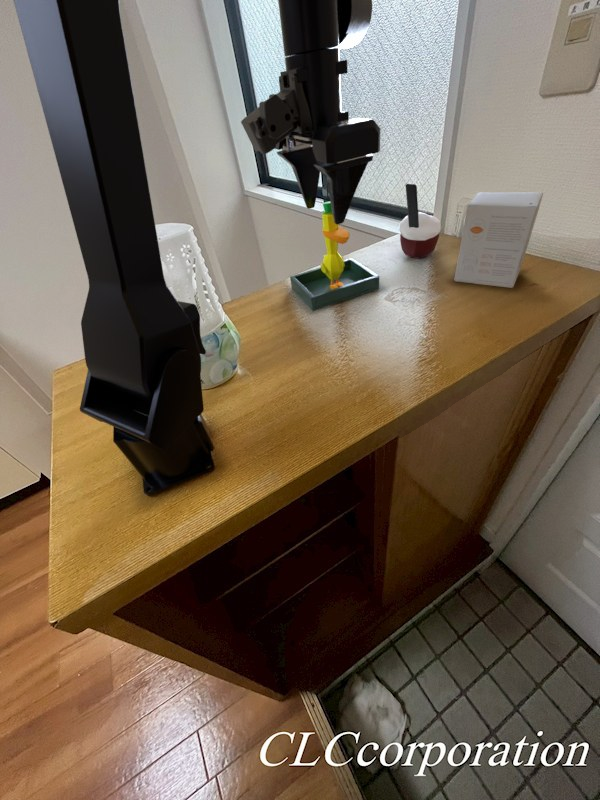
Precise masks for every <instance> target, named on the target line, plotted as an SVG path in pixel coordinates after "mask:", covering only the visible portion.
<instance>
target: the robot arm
mask: <svg viewBox="0 0 600 800" xmlns="http://www.w3.org/2000/svg"><path fill="white" fill-rule="evenodd" d="M277 3H278V11H279V21H280V27H281V37H282V47H283V55H284V65H285V71H280V75H279V76H278V83H279V84H278V85H279V92H277V93H272V94H269V95H268V98H267V99H266V100H264V101H260V102H259V103H258V105H259V106H258V107H257V108H255V109H254V110H253V111H252V112H250V113H249V114H247V115H246V116H245V117H244V118H243V119H242V120H241V121H240V123H241V125H242V127H243V130H244V131H245V133H246V135H247V138H248V139H249V141H250V143H251V145H252V148H253V150H254V151H255V153H259V152H260V154H262V155H267V154H269V153H270V152H272V151H273V150H279V151H276V154H277V155H278V156H279V157H280V158H281V159H283V160H284V161H285V162H286V163H287V164H289V165H290V166H291V169H292V171H293V174H294V176H295V179H296V182H297V184H298V187H299V190H300V193H301V196H302V198H303V201H304V205H305V207H306V208H307V209H308V210H310V209H313V208H315V206H316V200H317V195H318V189H319V182H320V174H322V175H323V177H325V179H326V183H327V184H326V185H327V190H328V195H329V201H330V202H331V208H332V213H333V218H334V222H335V224H338V225H340V224H343V223H344V222H345V220H346V217H347V215H348V212H349V209H350V207H351V204H352V201H353V199H354V196H355V194H356V191H357V189H358V186H359V184H360V182H361V180H362V177H363V175H364V173H365V171H366V168H367V166H368V164H369V163H371V162H373V159H374V154H377V153H379V152H381V133H382V131H381V130H382V129H381V127H380V126H379V125H378V124H377V122H376V121H375V119H373V118H361V117H355V118H351V119H349V118H350V117H349V114H350V113H349V110H348V111H347V110H342V89H341V88H342V87H341V75H345V74H348V59H344V60H340V50H342V49H350V48H353V47H354V46H356V45H358V44H359V43H360V42H361V41H362V40H363V38H364V37H365V35H366V34H367V32H368V30H369V27H370V24H371V22H372V21H371V20H372V14H373V0H277ZM13 5H14V8H15V12H16V15H17V19H18V23H19V26H20V30H21V33H22V37H23V40H24V44H25V47H26V52H27V57H28V59H29V63H30V67H31V71H32V75H33V78H34V82H35V85H36V89H37V92H38V96H39V99H40V105H41V108H42V112H43V115H44V119H45V123H46V126H47V130H48V133H49V134H48V135H49V137H50V142H51V144H52V150H53V152H54V156H55V160H56V163H57V167H58V171H59V174H60V178H61V182H62V186H63V189H64V194H65V198H66V200H67V204H68V208H69V211H70V216H71V219H72V223H73V227H74V230H75V234H76V238H77V241H78V245H79V249H80V253H81V255H82V256H81V257H82V260H83V264H84V267H85V272H86V275H87V280H88V292H87V295H86V300H85V304H84V308H83V312H82V316H81V321H80V326H81V327H80V328H81V334H82V344H83V354H84V361H85V366H86V368H87V372H86V377H85V381H84V388H83V391H82V395H81V400H80V406H79V411H80V412H81V413H82V414H84V415H86V416H88V417H90V418H92V419H94V420H96V421H98V422H100V423H105V424H106V425H109V426H111V427H113V429H112V434H113V435H112V441H113V443H114V444H115V446H116V447H117V448H118V449H119V450H120V452H121V453H122V454H123V456H124V457H125V458H126V459H127V460H128V462H129V463H130V464H131V465H132V466H133V468H134V469H135V470H136V471H137V473H138V474H139V475H140V476H141V478H142V487H143V494H144V495H145V496H146V497H152V496H155V495H158V494H161V493H163V492H165V491H167V490H170V489H173V488H175V487H178V486H180V485H182V484H183V485H184V484H185V483H188V482H190V481H193V480H195V479H198V478H200V477H202V476H205V475H208V474H210V473H212V472H213V471H215V469H216V464H215V460H214V456H213V453H212V452H214V450H215V445H214V441H213V437H212V434H211V430H210V428H209V426H208V424H207V423H206V420H205V418H204V416H203V412H204V410H205V409H204V397H203V387H202V386H203V385H202V377H201V372H202V357H201V355H206V353H207V350H206V348H205V346H204V345H203V340H202V337H201V315H200V312H199V308H198V306H197V305H196V304H195V303H192V302H186V301H179V300H177V298H176V297H175V295H174V294H173V291H171V290H170V288H169V286H168V284H167V283H166V279H165V275H164V269H163V264H162V257H161V252H160V244H159V239H158V234H157V227H156V222H155V215H154V214H155V213H154V209H153V208H154V207H153V203H152V197H151V191H150V185H149V179H148V178H149V177H148V173H147V167H146V161H145V155H144V149H143V142H142V137H141V132H140V126H139V119H138V113H137V107H136V101H135V95H134V90H133V84H132V78H131V71H130V66H129V65H130V64H129V59H128V53H127V47H126V41H125V35H124V29H123V23H122V17H121V6H120V0H13Z"/></svg>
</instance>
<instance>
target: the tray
mask: <svg viewBox="0 0 600 800" xmlns="http://www.w3.org/2000/svg"><path fill="white" fill-rule="evenodd" d="M343 261H344V265H345V266H343V269H344V270H343V272H342V274H341V275H340V277H339V282H342V283H343V284H344V286H341V287H338V288H335V289H332V290H331V288H330V287H329V286H330V285H331V279H329V278H328V276H327V275H326V274H325V273H323V272H322V270H321V266H320V267H317V268H314V269H310V270H307V271H303V272H301V273H298V274H294V275H290V276H289V280H290V286H291V290H292V291H293V292H294V293H295V294H296V295H297V296H298V297H299V298H300V299H301V300H302V301H303V303H305V305H307V307H308V308H309V309H310V310H311V312H314V311H317V310H319V309H323V308H326V307H329V306H333V305H336V304H339V303H341V302H344V301H347V300H350V299H353V298H357V297H360V296H362V295H366V294H368V293H372V292H375V291H378V290H380V275H378V274H377V273H375V272H374V271H373V270H371V269H369V267H366V266H365V265H363V264H362V263H361V262H359V261H357V260H356V259H354V258H353V257H350V258H347V259H343ZM333 283H334V284H335V283H336V279H334V280H333Z"/></svg>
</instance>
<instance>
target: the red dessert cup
mask: <svg viewBox="0 0 600 800" xmlns="http://www.w3.org/2000/svg"><path fill="white" fill-rule="evenodd" d="M404 187H405V197H406V207H407V208H406V209H407V215H406V216H405V217H403V219H402V220H401V221H400V222H399V226H398V232H399V233H400V234H399V241H400V246H401V250H402V251H403V254H404V255H406V256H407V257H409V258H410V259H412V258H413V259H423V258H426V257H427V256H430V254H432V253H433V252H434V251H435V248H436V246H437V244H438V241H439V239H440V233H441V230H442V224H441V222H440V221H439V219H438V218H437V217H436V216H434V215H431V214H428V213H426V212H421V211H419V204H418V201H419V200H418V186H417V185H416V184H415V183H406V184H405V186H404Z"/></svg>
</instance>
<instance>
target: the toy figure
mask: <svg viewBox="0 0 600 800" xmlns="http://www.w3.org/2000/svg"><path fill="white" fill-rule="evenodd" d="M322 205H323V211H321V218H322V230H321V233H322V235H323V237H324V242H325V247H326V254H323V259H322V263H320V267H321V270H322V272H323V273H325V274H326V275H327V276H328V278H329V279H331V285H330V286H329V287H330V288H331V290H332V289H335V288H338V287H341V286H344V284H343V283H342V282H339V277H340V275H341V274H342V272H343V270H344V269H343V266H345V265H344V261H343V260H344V258H343V257H342V256H341V254H340V253H339V252H338V249H339V244H341V245H343V244H346V243H347V242H348V240H349V238H350V237H351V234H350V232H349V231H348V230H347V229H345V228H344V227H342V226H340V225H339V224H335V222H334V218H333V213H332V208H331V202H330V200H329V201H325V202H323V203H322ZM334 279H336V283H335V284H334V283H333V280H334Z"/></svg>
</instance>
